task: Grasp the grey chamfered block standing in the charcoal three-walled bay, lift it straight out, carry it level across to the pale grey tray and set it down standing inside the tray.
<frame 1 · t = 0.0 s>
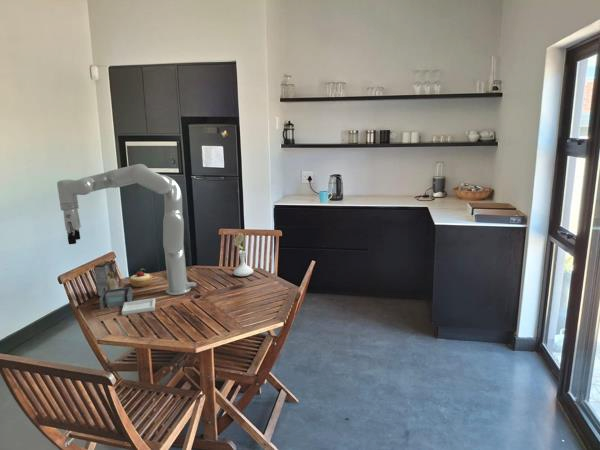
hand: (74, 241, 213), 31 cm above the table, tool pointing down, fingers open, 9 cm apart
coffee box: (108, 293, 234), on the table
bay: (116, 304, 216), on the table
pastry: (142, 285, 244), on the table
grey chamfered block: (116, 298, 216), in the bay
tray: (139, 308, 210), on the table
flower in vase: (243, 275, 253), on the table
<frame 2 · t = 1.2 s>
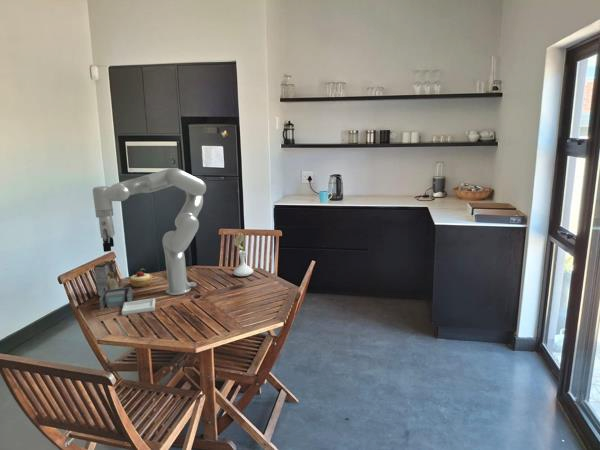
hand: (109, 249, 211), 28 cm above the table, tool pointing down, fingers open, 9 cm apart
nothing on the table moved.
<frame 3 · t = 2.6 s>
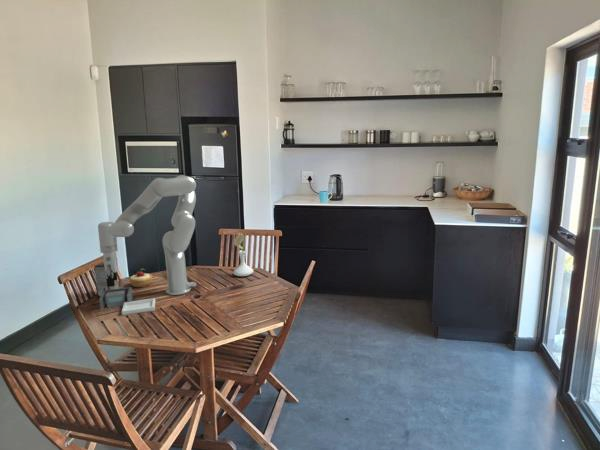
hand: (112, 283, 214), 11 cm above the table, tool pointing down, fingers open, 9 cm apart
nothing on the table moved.
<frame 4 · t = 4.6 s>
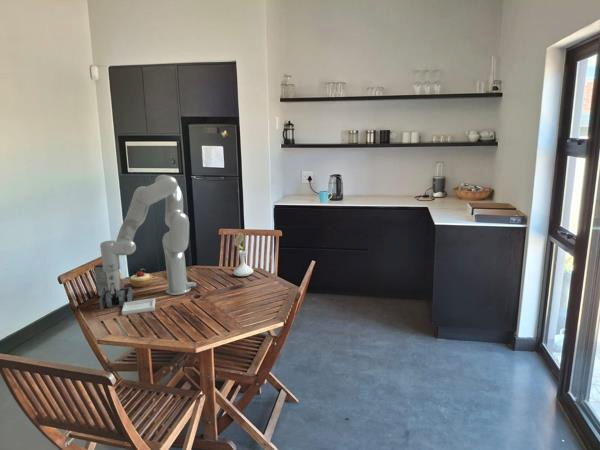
hand: (116, 302, 216), 1 cm above the table, tool pointing down, fingers closed on grey chamfered block, 5 cm apart
grey chamfered block: (115, 298, 216), in the bay, touching gripper
everything else where it was.
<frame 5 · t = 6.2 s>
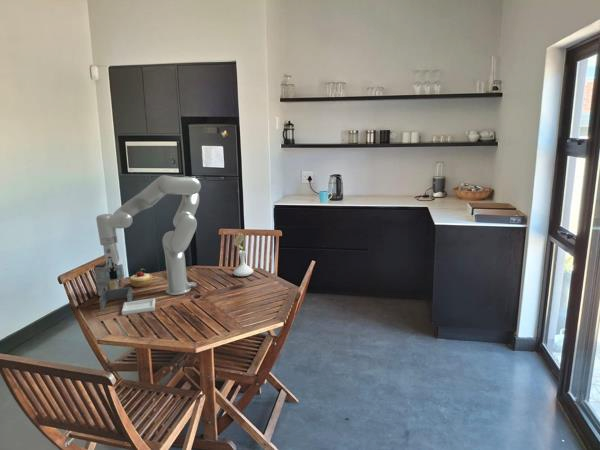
hand: (114, 276, 214), 14 cm above the table, tool pointing down, fingers closed on grey chamfered block, 5 cm apart
grey chamfered block: (113, 272, 213), point 16 cm above the table, touching gripper
everything else where it was.
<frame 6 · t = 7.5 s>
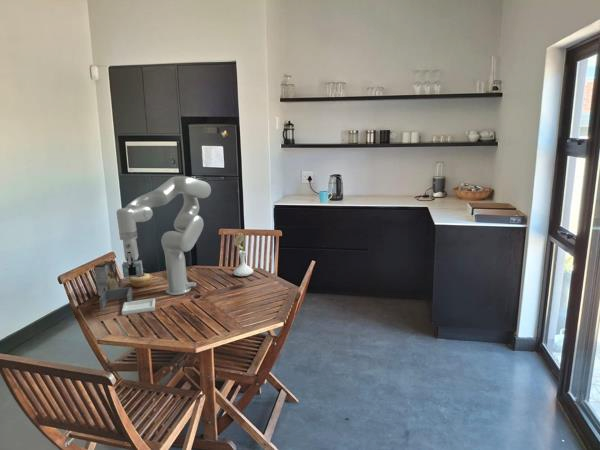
hand: (133, 273, 207), 17 cm above the table, tool pointing down, fingers closed on grey chamfered block, 5 cm apart
grey chamfered block: (132, 268, 206), point 19 cm above the table, touching gripper
everything else where it was.
when the fingers open (3 cm above the table, at t = 11.2 s): grey chamfered block drops 1 cm, resting on tray.
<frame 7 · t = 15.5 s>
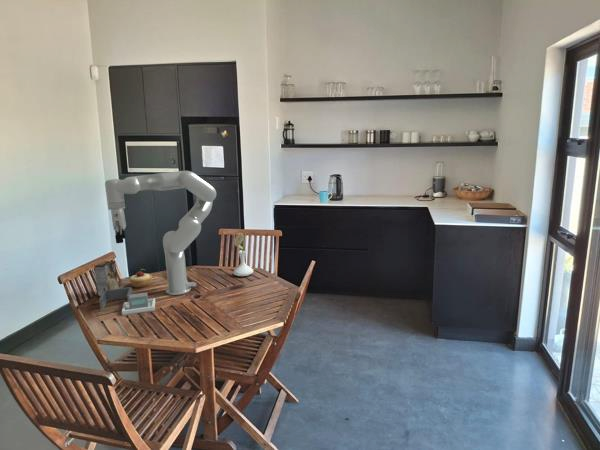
hand: (120, 240, 215), 30 cm above the table, tool pointing down, fingers open, 9 cm apart
grey chamfered block: (138, 301, 209), in the tray
everything else where it was.
at the end: grey chamfered block inside the target area on the tray (0.2 cm from its centre), point 3.5 cm above the tray's base; grey chamfered block tilted 0°; the gripper is holding nothing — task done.
